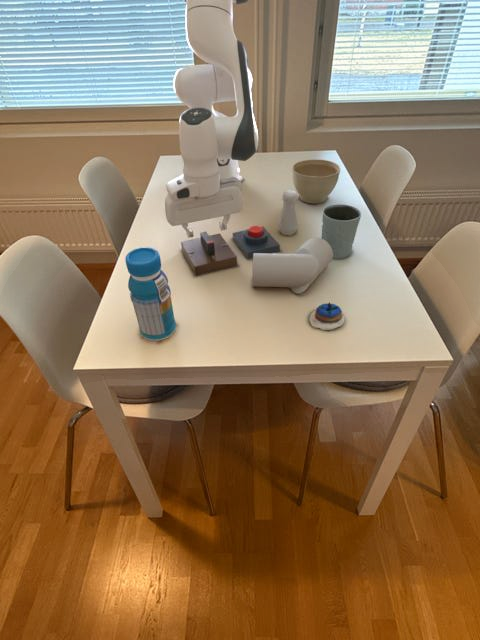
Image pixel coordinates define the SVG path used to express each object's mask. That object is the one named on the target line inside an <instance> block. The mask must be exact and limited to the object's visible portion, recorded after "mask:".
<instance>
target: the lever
mask: <svg viewBox="0 0 480 640" xmlns="http://www.w3.org/2000/svg"><path fill="white" fill-rule="evenodd" d="M209 236H210V234H209V233H208V232H207V231H201V232H200V233H199V238H201V244H202V246H203V247H204V249H205V250H206V252H207V254H208V255H209V256H210V255H214V254H215V249H214V242H213V241H212V240H211V238H210V237H209Z"/></svg>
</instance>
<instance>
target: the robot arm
mask: <svg viewBox="0 0 480 640" xmlns="http://www.w3.org/2000/svg"><path fill="white" fill-rule="evenodd" d="M180 1H182V2H185V35H186V40H187V41H186V42H187V43H188V46H189V48H190V49H191V50H192V52H193V53H194V54H195V55H196V56H197V57H198V58H199V59H201V60H202V61H204V62H205V63H206V64H205V63H204V64H191V65H187V66H184V67H182V68H179V69H177V71H176V72H175V75H174V77H173V90H174V93H175V95H176V98H178V100H179V101H180V102H181V103H183V104H184V105H185V106H187V107H188V108H189V109H187V110H184V111H183V112H182V113H181V114H180V116H179V125H178V127H179V130H178V131H179V133H178V135H179V148H180V149H179V150H180V156H181V158H182V162H183V167H182V168H183V169H182V174H181V175H179V176H178V177H176V178H173V179H172V180H170V181H168V182H167V183H166V185H165V188H166V192H167V194H166V196H165V199H164V209H165V212H164V213H165V219H166V222H167V223H168V224H169V225H170V226H171V227H177V226H181V227H182V228H183V230H184V231H185V233H186V237H187V238H188V239H189V238H193V237H194V230H193V229H192V228H188V227H189V224H190V223H196V222H201V221H205V220H210V219H215V218H220V217H223V218H222V221H219V224H218V225H219V229H220V231H221V232H222V231H226V230H227V229H228V226H227V225H228V223H229V221H230V220H231V215H235V214H239V213H241V212H242V211H243V208H244V207H243V198H242V189H243V188H242V181H243V176H242V175H241V174H240V171H241V169H240V168H239V161H240V162H246V161H248V160H249V159H250V158H252V157H253V156H254V155H255V154H256V153H257V152H258V147H259V131H258V127H257V123H256V120H255V112H254V111H255V110H254V102H253V95H252V88H253V76H252V72H251V70H250V68H249V62H248V55H247V52H246V48H245V46H244V43H243V42H242V41H240V40H239V39H238V38H237V37H236V34H235V31H234V26H233V25H234V22H233V19H234V18H233V17H234V7H233V5H234V4H236V5H241V4H245V3H248V2H249V0H180ZM225 102H226V103H227V102H235V105H236V114H235V115H233V116H227V115H225V114H223V113H222V112H220V111H217V110H216V109H214V104H216V103H225Z"/></svg>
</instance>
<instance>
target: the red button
mask: <svg viewBox="0 0 480 640" xmlns="http://www.w3.org/2000/svg"><path fill="white" fill-rule="evenodd" d="M248 229H249V236H251V237H261V236H262V235H263V228H262V226H259V225H252V226H250V227H249V228H248Z"/></svg>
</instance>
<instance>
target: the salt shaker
mask: <svg viewBox="0 0 480 640" xmlns="http://www.w3.org/2000/svg"><path fill="white" fill-rule="evenodd" d="M281 198H282V200H283V205H282V207H281V208H282V209H281V213H280V217H279V221H278V229H279V232H280V234H282V235H283V236H292V235H294V234H295V233H296V231H297V229H298V225H299V224H298V216H297V209H296V201H297V199H298V192H297V191H296V190H292V189H291V190H290V189H287V190H285V191H283V193H282V197H281Z"/></svg>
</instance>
